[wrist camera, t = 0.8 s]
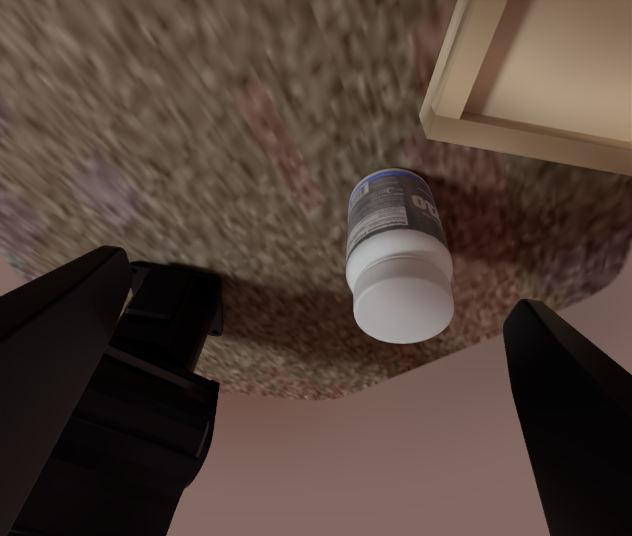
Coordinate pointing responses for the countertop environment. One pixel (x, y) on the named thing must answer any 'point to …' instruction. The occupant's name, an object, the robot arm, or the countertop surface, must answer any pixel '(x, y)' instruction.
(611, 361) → the robot arm
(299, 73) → the countertop surface
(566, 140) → the beech tray
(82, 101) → the countertop surface
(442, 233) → the pill bottle
